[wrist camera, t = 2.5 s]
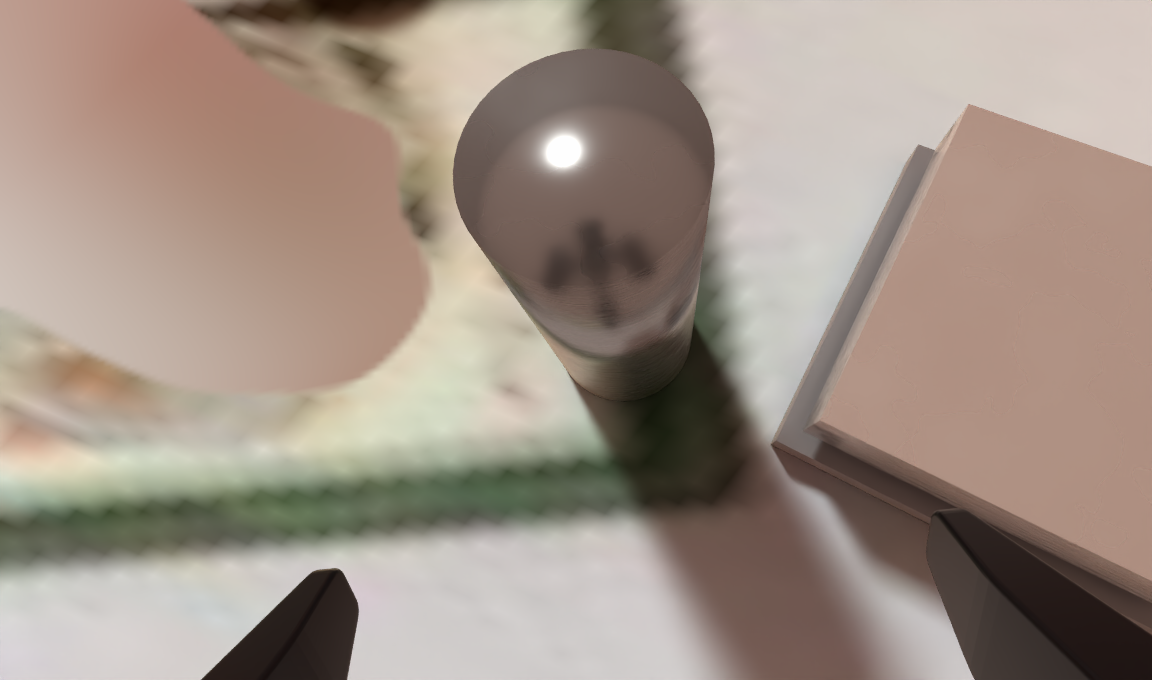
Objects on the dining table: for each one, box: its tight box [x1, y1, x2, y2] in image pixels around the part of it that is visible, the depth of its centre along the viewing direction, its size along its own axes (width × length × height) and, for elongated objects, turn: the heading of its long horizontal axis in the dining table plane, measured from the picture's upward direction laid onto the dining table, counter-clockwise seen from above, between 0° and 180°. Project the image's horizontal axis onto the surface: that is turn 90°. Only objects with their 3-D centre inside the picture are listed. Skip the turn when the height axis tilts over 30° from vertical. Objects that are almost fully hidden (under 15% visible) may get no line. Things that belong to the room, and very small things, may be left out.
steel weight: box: [453, 49, 715, 401], centre depth 18 cm, size 5×5×12 cm
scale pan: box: [802, 104, 1152, 603], centre depth 19 cm, size 11×11×2 cm
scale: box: [771, 145, 1152, 634], centre depth 19 cm, size 15×12×5 cm
